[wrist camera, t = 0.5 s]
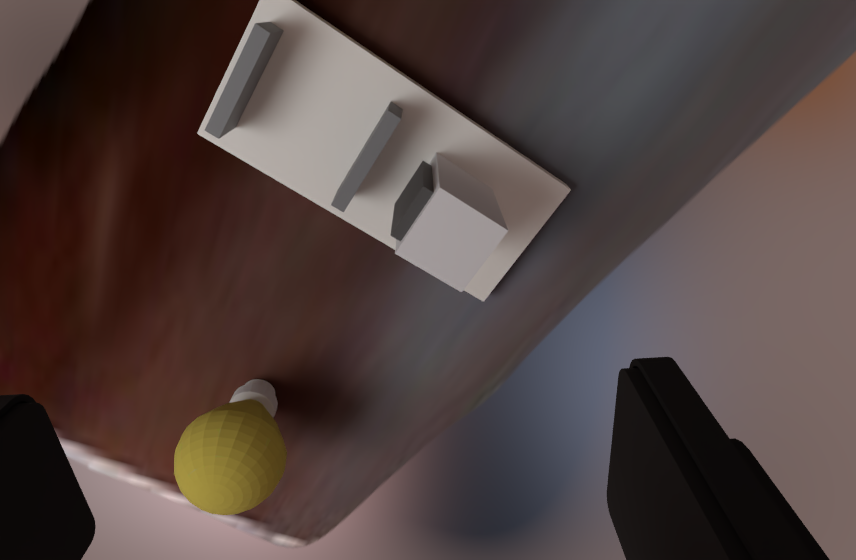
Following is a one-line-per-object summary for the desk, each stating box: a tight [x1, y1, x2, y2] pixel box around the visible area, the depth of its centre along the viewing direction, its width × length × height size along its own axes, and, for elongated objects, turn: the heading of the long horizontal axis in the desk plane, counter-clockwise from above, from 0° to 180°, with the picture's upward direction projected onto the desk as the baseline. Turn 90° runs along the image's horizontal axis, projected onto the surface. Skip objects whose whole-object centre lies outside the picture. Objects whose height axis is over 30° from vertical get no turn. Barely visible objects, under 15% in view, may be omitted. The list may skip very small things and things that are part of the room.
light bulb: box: [174, 379, 287, 515], centre depth 37 cm, size 7×7×10 cm
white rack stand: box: [197, 0, 571, 302], centre depth 31 cm, size 9×20×8 cm, turn 57°
